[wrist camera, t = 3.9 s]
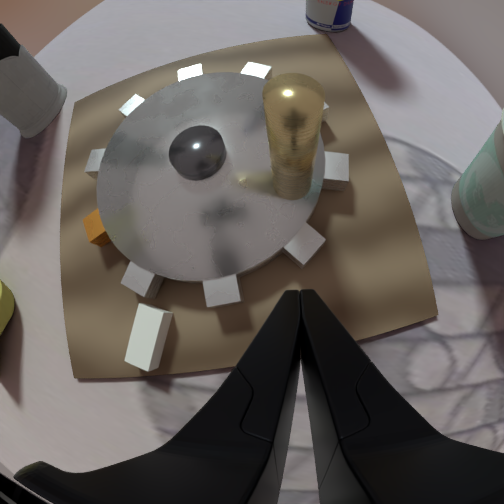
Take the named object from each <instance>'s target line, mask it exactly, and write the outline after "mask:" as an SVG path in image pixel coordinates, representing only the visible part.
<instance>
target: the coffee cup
mask: <svg viewBox="0 0 504 504" xmlns="http://www.w3.org/2000/svg"><path fill="white" fill-rule="evenodd" d="M451 201H452V208H453V212H454V214H455V217H456V219H457V221H458V223H459V224H460V226H461V227H462V228H463V230H464V231H465V232H466V233H467V234H469V235H470V236H472V237H473V238H476V239H479V240H485V239H489V238H493V237H498V236H502V235H504V109H503V111H502V117H501V121H500V122H499V124H498V125H497V127H496V128H495V130H494V131H493V133H492V134H491V136H490V137H489V139H488V140H487V141H486V143H485V144H484V146H483V147H482V149H481V150H480V151H479V153H478V154H477V156H476V157H475V158H474V160H473V161H472V162H471V164H470V165H469V166H468V168H467V169H466V170H465V172H464V173H463V174H462V176H461V177H460V178H459V180H458V181H457V182H456V184H455V185H454V187H453V190H452V196H451Z"/></svg>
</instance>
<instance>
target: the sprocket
mask: <svg viewBox="0 0 504 504" xmlns="http://www.w3.org/2000/svg"><path fill="white" fill-rule="evenodd" d="M178 77H179V81H177V82H175V83H173V84H171V85H168V86H166V87H164V88H163V89H161V90H159V91H157V92H156V93H154V94H153V95H151V96H150V97H148V98H147V99H146V100H144V99H143V98H141V97H140V96H138V95H137V94H135V95H134V96H133V97H132V98H131V99H129V100H128V101H127V102H126V103H125V104H124V105H123V106H122V107H121V108H120V109H119V111H120V112H121V114H122V115H123V116H124V117H125V119H124V120H123V122H122V123H121V124H120V126H119V127H118V128H117V130H116V131H115V133H114V134H113V136H112V138H111V139H110V141H109V143H108V145H107V147H106V148H105V149H94V150H91V153H90V156H89V159H88V162H87V165H86V168H85V171H84V172H85V173H87V174H88V175H89V176H91V177H92V178H93V179H94V180H97V188H96V191H97V205H98V208H97V209H96V210H95V211H93V212H92V213H91V214H89V215H88V216H87V217H85V218H84V219H83V223H84V227H85V230H86V233H87V237H88V240H89V242H90V243H92V244H95V245H97V246H99V247H103V246H104V245H106V244H107V243H108V242H110V241H112V242H113V243H114V245H115V246H116V247H117V249H118V250H119V251H120V252H121V253H122V254H123V255H124V256H126V257H127V258H128V259H129V260H131V261H130V263H129V265H128V268H127V270H126V272H125V274H124V276H123V279H122V281H121V284H123V285H125V286H126V287H128V288H130V289H131V290H133V291H135V292H136V293H138V294H140V295H141V296H143V297H147V298H153V299H155V297H156V295H157V293H158V291H159V289H160V286H161V284H162V282H163V280H164V278H165V277H166V278H169V279H173V280H176V281H181V282H187V283H203V287H204V293H205V299H206V305H207V307H209V308H216V307H222V306H227V305H232V304H238V303H243V302H244V297H243V292H242V286H241V281H240V277H242V276H244V275H247V274H249V273H251V272H254V271H256V270H258V269H260V268H261V267H263V266H265V265H266V264H268V263H270V262H272V261H273V260H274V259H275V258H277V257H278V256H279V255H281V254H282V253H284V254H285V255H286V256H288V257H289V258H290V259H291V260H292V261H293V262H294V263H296V264H297V265H298V266H299V267H300V268H301V269H303V268H304V267H305V266H306V264H307V263H308V262H309V261H310V260H311V259H312V258H313V257H314V255H315V254H316V253H317V252H318V251H319V250H320V249H321V247H322V246H323V245H324V243H325V241H326V239H325V238H324V237H323V236H321V235H320V234H319V233H318V232H317V231H316V230H314V229H313V228H312V227H311V226H310V225H308V222H309V220H310V218H311V216H312V214H313V213H314V210H315V207H316V204H317V202H318V199H319V195H320V192H321V189H327V190H336V191H345V189H346V186H347V184H348V182H349V154H343V153H335V152H326V151H324V144H323V141H322V137H321V134H320V129H321V123H322V122H324V121H326V120H327V118H328V112H329V106H328V105H327V104H326V103H325V92H324V89H323V87H322V86H321V84H320V83H319V82H318V81H316V80H315V79H313V78H312V77H310V76H307V75H304V74H300V73H285V74H280V75H277V76H275V77H273V78H272V67H270V66H266V65H262V64H257V63H252V62H248V63H247V65H246V66H245V68H244V69H243V70H242V72H241V73H234V72H216V73H208V74H204V72H203V69H202V66H201V64H198V65H194V66H190V67H187V68H184V69H180V70H178Z"/></svg>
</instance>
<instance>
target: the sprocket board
mask: <svg viewBox="0 0 504 504" xmlns="http://www.w3.org/2000/svg"><path fill="white" fill-rule="evenodd" d="M248 62H252V63H257V64H262V65H266V66H270V67H272V78H273V77H275V76H277V75H280V74H285V73H300V74H304V75H307V76H310V77H312V78H313V79H315V80H316V81H318V82H319V83H320V84H321V86H322V87H323V89H324V92H325V103H326V104H327V105H328V106H329V112H328V118H327V120H326V121H324V122H322V123H321V129H320V134H321V137H322V141H323V144H324V151H326V152H335V153H343V154H349V182H348V184H347V186H346V189H345V191H336V190H327V189H321V192H320V195H319V199H318V202H317V204H316V207H315V210H314V213H313V214H312V216H311V218H310V220H309V222H308V225H310V226H311V227H312V228H313V229H314V230H316V231H317V232H318V233H319V234H320V235H321V236H323V237H324V238H325V239H326V241H325V243H324V245H323V246H322V247H321V249H320V250H319V251H318V252H317V253H316V254H315V255H314V257H313V258H312V259H311V260H310V261H309V262H308V263H307V264H306V266H305V267H304V268H303V269H301V268H300V267H299V266H298V265H297V264H296V263H294V262H293V261H292V260H291V259H290V258H289V257H288V256H286V255H285V254H284V253H282V254H281V255H279V256H278V257H277V258H275V259H274V260H273V261H272V262H270V263H268V264H266V265H265V266H263V267H261V268H260V269H258V270H256V271H254V272H251V273H249V274H247V275H244V276H242V277H240V281H241V286H242V292H243V297H244V302H243V303H238V304H232V305H227V306H222V307H216V308H209V307H207V305H206V299H205V293H204V287H203V283H187V282H181V281H176V280H173V279H169V278H166V277H165V278H164V280H163V282H162V284H161V286H160V289H159V291H158V293H157V295H156V297H155V299H153V298H147V297H143V296H141V295H140V294H138V293H136V292H135V291H133V290H131V289H130V288H128V287H126V286H125V285H123V284H121V281H122V279H123V276H124V274H125V272H126V270H127V268H128V265H129V263H130V261H131V260H129V259H128V258H127V257H126V256H124V255H123V254H122V253H121V252H120V251H119V250H118V249H117V247H116V246H115V245H114V243H113V242H112V241H110V242H108V243H107V244H106V245H104V246H103V247H99V246H97V245H95V244H92V243H90V242H89V240H88V237H87V233H86V230H85V227H84V223H83V219H84V218H85V217H87V216H88V215H89V214H91V213H92V212H93V211H95V210H96V209H97V208H98V205H97V191H96V188H97V180H94V179H93V178H92V177H91V176H89V175H88V174H87V173H85V172H84V171H85V168H86V165H87V162H88V159H89V156H90V153H91V150H94V149H105V148H106V147H107V145H108V143H109V141H110V139H111V138H112V136H113V134H114V133H115V131H116V130H117V128H118V127H119V126H120V124H121V123H122V122H123V120H124V119H125V117H124V116H123V115H122V114H121V112H120V111H119V109H120V108H121V107H122V106H123V105H124V104H125V103H126V102H127V101H128V100H129V99H131V98H132V97H133V96H134V95H135V94H137V95H138V96H140V97H141V98H143V99H144V100H146V99H147V98H148V97H150V96H151V95H153V94H154V93H156V92H157V91H159V90H161V89H163V88H164V87H166V86H168V85H171V84H173V83H175V82H177V81H179V77H178V70H180V69H184V68H187V67H190V66H194V65H198V64H201V66H202V69H203V72H204V74H208V73H216V72H234V73H241V72H242V70H243V69H244V68H245V66H246V65H247V63H248ZM60 264H61V285H62V298H63V309H64V318H65V327H66V334H67V341H68V348H69V354H70V359H71V365H72V370H73V375H74V378H121V377H140V376H154V375H166V374H177V373H186V372H195V371H204V370H211V369H219V368H226V367H233V366H236V364H237V363H238V361H239V360H240V358H241V357H242V355H243V354H244V352H245V351H246V349H247V348H248V346H249V345H250V343H251V342H252V340H253V339H254V337H255V336H256V334H257V333H258V331H259V330H260V328H261V327H262V325H263V324H264V322H265V321H266V319H267V318H268V316H269V315H270V313H271V311H272V310H273V308H274V307H275V305H276V304H277V302H278V300H279V299H280V297H281V296H282V294H283V293H284V291H285V290H295V289H297V290H299V293H300V290H301V289H314V290H315V291H316V292H317V294H318V295H319V296H320V297H321V298H322V300H323V301H324V302H325V303H326V305H327V306H328V307H329V308H330V310H331V311H332V312H333V313H334V315H335V316H336V317H337V318H338V320H339V321H340V322H341V323H342V325H343V326H344V327H345V328H346V330H347V331H348V332H349V333H350V335H351V336H352V337H353V338H354V340H355V341H357V340H361V339H364V338H368V337H371V336H375V335H378V334H382V333H385V332H388V331H392V330H395V329H398V328H401V327H405V326H408V325H411V324H414V323H417V322H420V321H423V320H426V319H428V318H431V317H434V316H437V315H438V310H437V305H436V299H435V295H434V290H433V285H432V281H431V276H430V272H429V268H428V264H427V260H426V256H425V253H424V249H423V245H422V242H421V238H420V235H419V231H418V228H417V225H416V222H415V218H414V215H413V212H412V209H411V206H410V203H409V200H408V198H407V195H406V192H405V189H404V186H403V184H402V181H401V178H400V176H399V173H398V171H397V168H396V166H395V163H394V161H393V158H392V156H391V153H390V151H389V149H388V146H387V144H386V142H385V140H384V137H383V135H382V133H381V131H380V128H379V126H378V124H377V122H376V120H375V118H374V116H373V114H372V112H371V110H370V108H369V106H368V104H367V102H366V100H365V98H364V96H363V94H362V92H361V90H360V89H359V87H358V85H357V83H356V81H355V79H354V78H353V76H352V74H351V72H350V71H349V69H348V67H347V65H346V64H345V62H344V60H343V59H342V57H341V55H340V54H339V52H338V51H337V49H336V47H335V46H334V44H333V43H332V41H331V39H330V38H329V36H328V35H327V34H317V35H305V36H295V37H287V38H279V39H272V40H266V41H259V42H254V43H248V44H243V45H238V46H233V47H228V48H224V49H220V50H215V51H211V52H207V53H203V54H200V55H196V56H192V57H189V58H185V59H182V60H179V61H175V62H172V63H169V64H166V65H163V66H160V67H157V68H154V69H151V70H149V71H146V72H143V73H140V74H138V75H135V76H133V77H130V78H128V79H125V80H123V81H120V82H118V83H115V84H113V85H111V86H108V87H106V88H104V89H102V90H100V91H97V92H95V93H93V94H91V95H89V96H87V97H85V98H83V99H81V100H79V101H77V102H75V104H74V109H73V114H72V119H71V124H70V130H69V136H68V142H67V149H66V157H65V165H64V174H63V185H62V199H61V219H60ZM139 303H141V304H150V305H153V306H155V307H158V308H161V309H164V310H166V311H169V312H172V313H173V315H172V319H171V322H170V326H169V329H168V333H167V337H166V340H165V344H164V348H163V352H162V356H161V360H160V363H159V367H158V368H157V369H154V370H151V371H149V372H148V371H145V370H143V369H141V368H139V367H136V366H134V365H132V364H130V363H128V362H126V361H124V360H125V356H126V352H127V348H128V343H129V339H130V335H131V331H132V327H133V324H134V320H135V316H136V312H137V309H138V305H139Z"/></svg>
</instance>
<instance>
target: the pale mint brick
mask: <svg viewBox="0 0 504 504" xmlns="http://www.w3.org/2000/svg"><path fill="white" fill-rule="evenodd" d="M172 315H173V313H172V312H169V311H166V310H164V309H161V308H158V307H155V306H153V305H150V304H141V303H139V305H138V309H137V312H136V316H135V320H134V324H133V327H132V331H131V335H130V339H129V343H128V348H127V352H126V356H125V360H124V361H126V362H128V363H130V364H132V365H134V366H136V367H139V368H141V369H143V370H145V371H148V372H149V371H151V370H154V369H157V368H158V367H159V363H160V360H161V356H162V352H163V348H164V344H165V340H166V337H167V333H168V329H169V326H170V322H171V319H172Z"/></svg>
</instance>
